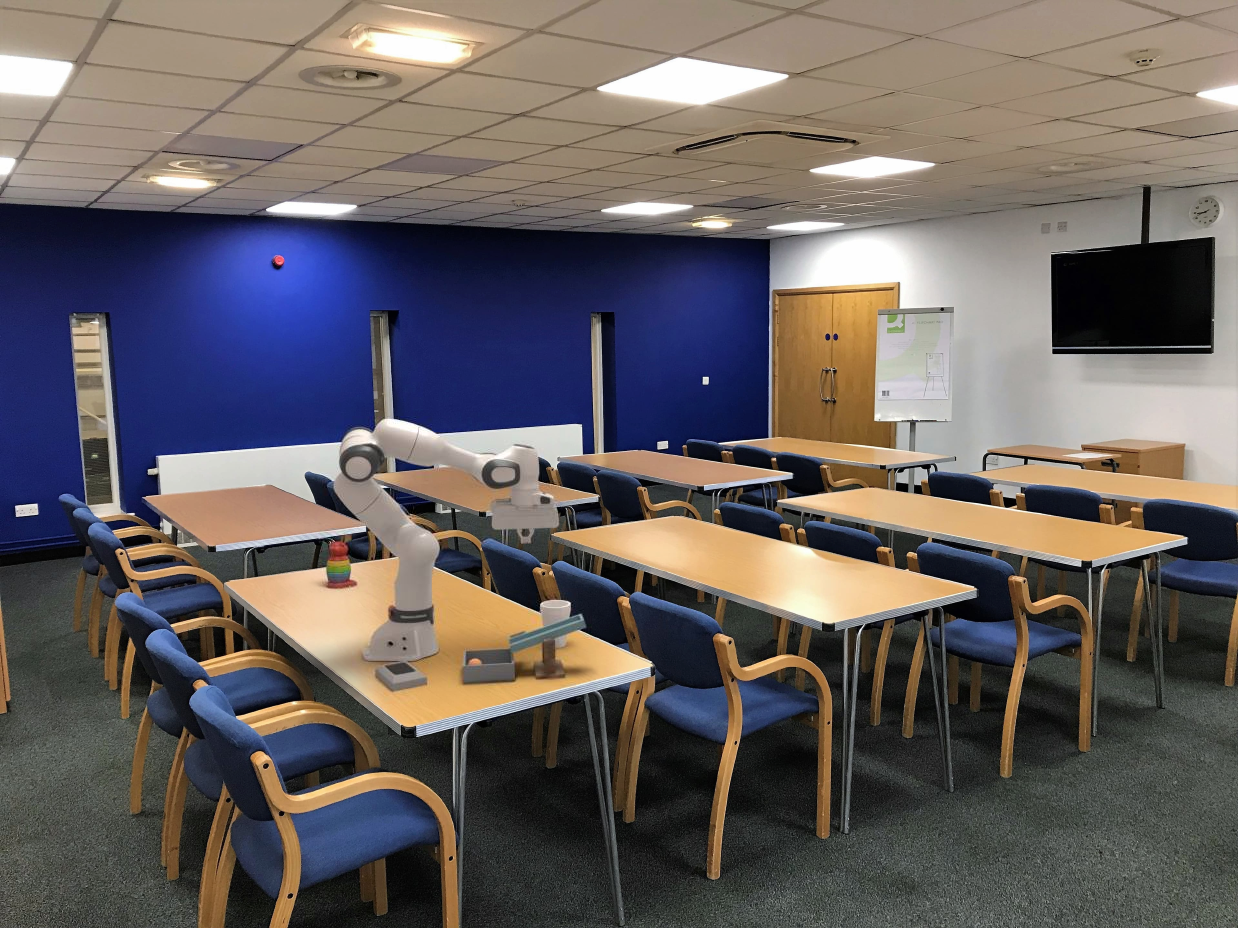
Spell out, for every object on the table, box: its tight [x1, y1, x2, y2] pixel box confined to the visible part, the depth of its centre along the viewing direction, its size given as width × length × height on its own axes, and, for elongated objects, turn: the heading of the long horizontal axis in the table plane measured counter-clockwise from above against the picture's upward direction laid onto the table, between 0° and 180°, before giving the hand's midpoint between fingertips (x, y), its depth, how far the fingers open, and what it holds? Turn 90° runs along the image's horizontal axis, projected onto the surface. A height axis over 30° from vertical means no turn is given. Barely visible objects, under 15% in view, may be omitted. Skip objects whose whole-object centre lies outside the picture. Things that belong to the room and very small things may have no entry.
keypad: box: [374, 661, 428, 692], centre depth 258 cm, size 10×4×15 cm
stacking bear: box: [325, 541, 358, 589], centre depth 366 cm, size 11×10×18 cm
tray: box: [462, 647, 516, 685], centre depth 263 cm, size 14×14×5 cm
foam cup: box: [539, 599, 572, 649], centre depth 289 cm, size 10×9×13 cm
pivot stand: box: [533, 638, 566, 680], centre depth 265 cm, size 8×13×11 cm, turn 9°
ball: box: [468, 659, 482, 665], centre depth 262 cm, size 4×4×4 cm
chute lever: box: [508, 613, 587, 654], centre depth 267 cm, size 22×13×2 cm, turn 98°
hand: (525, 543), depth 282 cm, fingers closed
